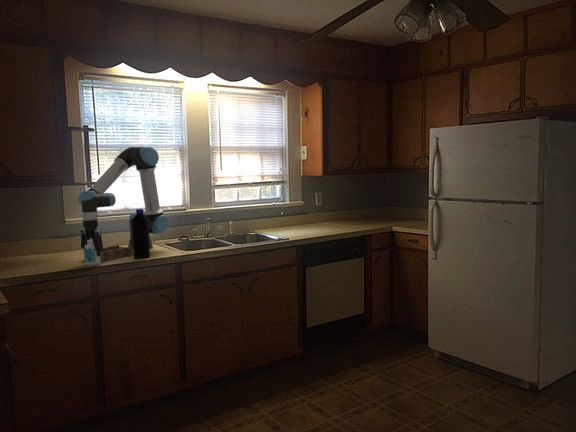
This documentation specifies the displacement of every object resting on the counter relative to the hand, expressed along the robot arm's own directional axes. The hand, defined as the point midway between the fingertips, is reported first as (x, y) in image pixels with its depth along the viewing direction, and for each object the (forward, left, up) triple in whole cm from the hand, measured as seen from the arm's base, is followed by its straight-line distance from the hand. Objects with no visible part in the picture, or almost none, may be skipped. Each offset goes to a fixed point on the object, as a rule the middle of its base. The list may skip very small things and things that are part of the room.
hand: (92, 261), depth 267 cm
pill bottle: (0, 0, -2) cm, 2 cm away
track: (-18, -8, -2) cm, 20 cm away
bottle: (-26, +10, -2) cm, 28 cm away
